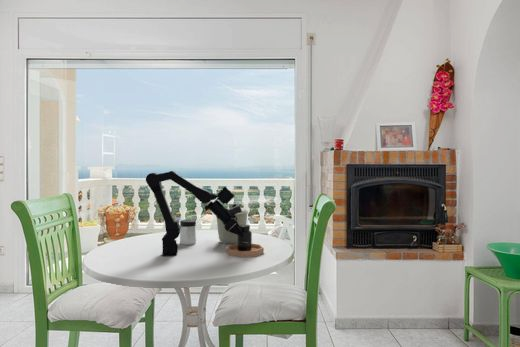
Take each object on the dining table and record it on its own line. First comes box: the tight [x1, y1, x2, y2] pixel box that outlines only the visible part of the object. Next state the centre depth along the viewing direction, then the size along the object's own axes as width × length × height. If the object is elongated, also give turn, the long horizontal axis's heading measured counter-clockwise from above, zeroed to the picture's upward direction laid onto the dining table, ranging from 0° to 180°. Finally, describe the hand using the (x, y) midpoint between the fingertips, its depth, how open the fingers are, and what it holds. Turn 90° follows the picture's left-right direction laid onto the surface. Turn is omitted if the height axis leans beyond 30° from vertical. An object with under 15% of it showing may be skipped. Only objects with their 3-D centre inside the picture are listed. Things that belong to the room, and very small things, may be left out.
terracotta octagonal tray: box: [225, 243, 264, 258], centre depth 175 cm, size 17×17×2 cm
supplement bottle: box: [236, 224, 253, 251], centre depth 174 cm, size 7×7×12 cm
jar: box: [179, 219, 197, 246], centre depth 194 cm, size 9×8×12 cm
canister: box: [215, 202, 249, 245], centre depth 197 cm, size 18×18×21 cm
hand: (242, 234), depth 174 cm, fingers open, 9 cm apart
